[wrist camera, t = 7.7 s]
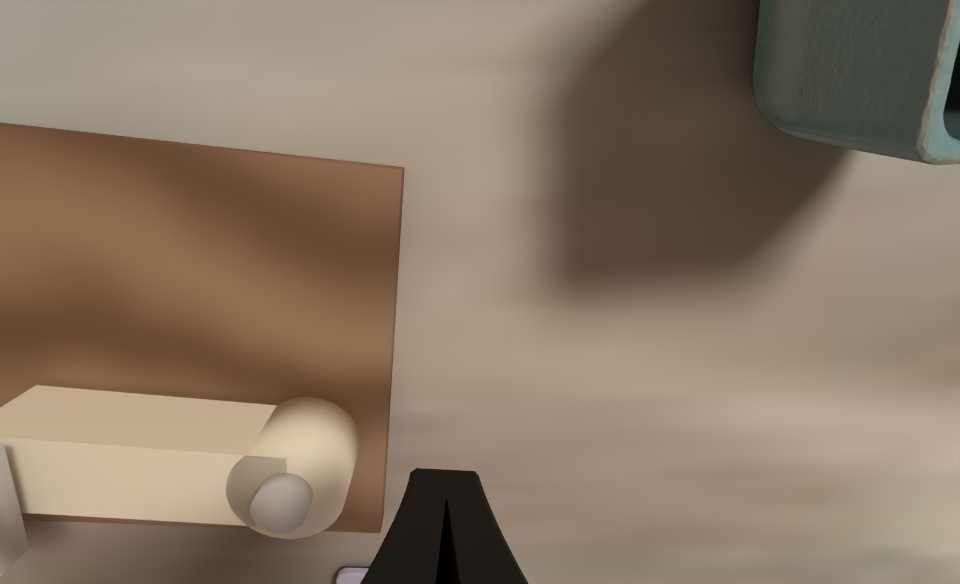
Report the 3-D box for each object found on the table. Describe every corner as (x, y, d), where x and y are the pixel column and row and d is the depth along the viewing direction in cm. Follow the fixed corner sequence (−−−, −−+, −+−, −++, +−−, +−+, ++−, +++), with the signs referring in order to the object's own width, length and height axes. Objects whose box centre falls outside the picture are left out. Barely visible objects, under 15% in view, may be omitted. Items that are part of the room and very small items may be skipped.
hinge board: (383, 515, 22) (360, 653, 16) (-36, 499, 21) (-228, 646, 15) (404, 167, 17) (381, 188, 11) (-152, 105, 15) (-518, 92, 10)
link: (363, 401, 19) (343, 466, 15) (357, 483, 20) (337, 561, 16) (34, 373, 18) (-73, 436, 14) (50, 462, 19) (-45, 541, 15)
